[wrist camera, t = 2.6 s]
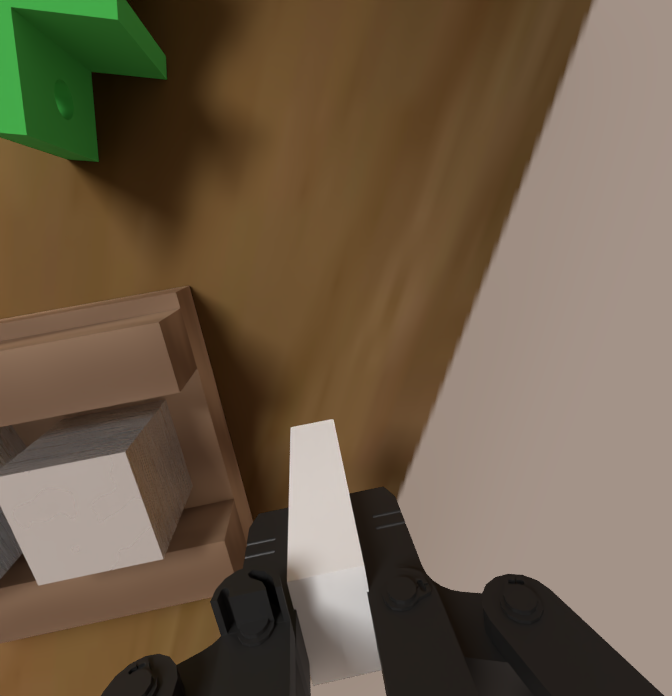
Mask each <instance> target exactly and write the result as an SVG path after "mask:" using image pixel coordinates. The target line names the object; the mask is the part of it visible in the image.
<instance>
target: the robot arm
mask: <svg viewBox="0 0 672 696" xmlns="http://www.w3.org/2000/svg"><path fill="white" fill-rule="evenodd" d="M210 602H211V606H212V609H213V612H214V615H215V618H216V621H217V624H218V627H219V630H220V634H221V637H220V638H219V639H218V640H217V641H216V642H215V643H213V644H212V645H211V646H209V647H208V648H206V649H205V650H203V651H202V652H200V653H198V654H196V655H194V656H193V657H191V658H189V659H187V660H185V661H183V662H181V663H180V664H178V665H176V664H175V663H174V662H173V660H172V659H171V658H170V657H168V656H165V655H161V654H155V655H150V656H145V657H143V658H141V659H139V660H137V661H135V662H133V663H131V664H130V665H128V666H127V667H126V668H125V669H124V670H123V671H121V672H120V673H119V674H118V675H117V676H115V678H114V679H113V680H112V682H111V683H110V684H109V685H108V687H107V688H106V689H105V690H104V692H103V693H102V695H101V696H311V693H310V676H311V680H312V684H313V686H315V685H319V684H323V683H328V682H332V681H336V680H341V679H345V678H350V677H354V676H358V675H363V674H367V673H371V672H376V671H380V670H382V674H383V679H384V684H385V690H386V695H387V696H664V695H663V694H662V693H661V692H660V691H658V690H657V689H656V688H655V687H654V686H653V685H652V684H651V683H650V682H649V681H648V680H647V679H646V678H644V677H643V676H642V675H641V674H640V673H639V672H638V671H637V670H636V669H635V668H634V667H633V666H631V664H629V663H628V662H627V661H626V660H625V659H624V658H623V657H622V656H621V655H620V654H619V653H618V652H617V651H615V650H614V649H613V648H612V647H611V646H610V645H609V644H608V643H607V642H606V641H605V640H604V639H602V637H600V636H599V635H598V634H597V633H596V632H595V631H594V630H593V629H592V628H591V627H590V626H589V625H588V624H587V623H585V622H584V621H583V620H582V619H581V618H580V617H579V616H578V615H577V614H576V613H575V612H574V611H572V609H571V608H569V607H568V606H567V605H566V604H565V603H564V602H563V601H562V600H561V599H560V598H559V597H557V595H555V594H554V593H553V592H552V591H551V590H550V589H549V588H547V587H546V586H544V585H543V584H542V583H540V582H539V581H537V580H535V579H532V578H529V577H526V576H524V575H515V574H506V575H503V576H499V577H495V578H494V579H493V580H491V581H490V582H489V583H488V584H486V586H485V588H484V591H483V593H482V594H481V593H469V592H459V591H454V590H450V589H448V588H445V587H442V586H440V585H439V584H437V583H436V582H434V581H433V580H432V579H431V578H430V577H429V576H428V575H427V574H426V572H425V571H424V569H423V567H422V565H421V562H420V560H419V557H418V554H417V552H416V549H415V546H414V544H413V541H412V539H411V537H410V534H409V531H408V528H407V526H406V524H405V521H404V518H403V516H402V513H401V511H400V508H399V505H398V503H397V500H396V497H395V496H394V495H393V494H392V493H390V492H389V491H388V490H387V489H386V488H384V487H379V488H374V489H370V490H365V491H360V492H355V493H350V494H349V491H348V486H347V482H346V477H345V472H344V467H343V463H342V458H341V453H340V448H339V444H338V439H337V434H336V429H335V425H334V420H333V419H331V420H326V421H321V422H315V423H310V424H305V425H300V426H295V427H291V436H290V477H289V508H285V509H280V510H275V511H270V512H265V513H261V514H258V516H257V517H256V519H255V520H254V522H253V523H252V525H251V526H250V528H249V532H248V538H247V547H246V551H245V560H244V563H243V569H240V570H237V571H236V572H234V573H233V574H231V575H230V576H228V577H227V578H225V579H224V580H223V582H222V583H221V584H220V585H219V586H218V587H217V589H216V590H215V592H214V594H213V597H212V599H211V601H210Z"/></svg>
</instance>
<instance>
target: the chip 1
mask: <svg viewBox="0 0 672 696" xmlns="http://www.w3.org/2000/svg"><path fill="white" fill-rule="evenodd" d="M26 448H27V447H26V446H25V444H24V443H23V441H22V440H21V438H20V437H19V435H18V434H17V432H16V431H15V429H14V428H13V426H12V425H9V426H4V427H0V469H1V468H2V467H3V466H5V465H6V464H7V463H8V462H10V461H11V460H12V459H13V458H15V457H16V456H17V455H18V454H20V453H21V452H22V451H23V450H25V449H26ZM22 553H23V552H22V550H21V548H20V546H19V544H18V542H17V540H16V538H15V536H14V533H13V531H12V529H11V527H10V525H9V523H8V521H7V519H6V517H5V515H4V513H3V510H2V508H1V506H0V579H1V578H2V577H3V575H4V574H5V573H6V572H7V571H8V570H9V568H10V567H11V566H12V565H13V564H14V563H15V561H16V560H17V559H18V558H19V557H20V555H21V554H22Z"/></svg>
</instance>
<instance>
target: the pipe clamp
mask: <svg viewBox="0 0 672 696" xmlns="http://www.w3.org/2000/svg"><path fill="white" fill-rule="evenodd" d="M91 72H98V73H107V74H117V75H126V76H136V77H146V78H155V79H165V80H167V70H166V56H165V54H164V53H163V51H162V50H161V49H160V47H159V46H158V44H157V43H156V42H155V40H154V39H153V37H152V36H151V35H150V33H149V32H148V30H147V29H146V28H145V26H144V25H143V23H142V22H141V21H140V19H139V18H138V16H137V15H136V14H135V12H134V11H133V9H132V8H131V7H130V5H129V4H128V2H127V1H126V0H0V137H1V138H4V139H7V140H10V141H13V142H16V143H19V144H22V145H25V146H28V147H31V148H34V149H38V150H41V151H44V152H47V153H50V154H53V155H56V156H59V157H62V158H65V159H69V160H81V161H94V162H99V157H98V145H97V133H96V122H95V110H94V98H93V86H92V75H91Z"/></svg>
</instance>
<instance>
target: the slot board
mask: <svg viewBox="0 0 672 696" xmlns="http://www.w3.org/2000/svg"><path fill="white" fill-rule="evenodd" d="M165 399H166V402H167V405H168V408H169V411H170V415H171V418H172V421H173V424H174V427H175V431H176V434H177V437H178V440H179V443H180V447H181V450H182V453H183V456H184V459H185V463H186V466H187V469H188V472H189V475H190V479H191V482H192V485H193V487H192V489H191V492H190V494H189V497H188V499H187V502H186V504H185V507H184V509H183V512H182V514H181V517H180V519H179V522H178V524H177V527H176V529H175V532H174V534H173V537H172V539H171V542H170V544H169V547H168V549H167V552H166V554H165V557H164V559H162V560H157V561H152V562H147V563H143V564H138V565H133V566H129V567H124V568H119V569H114V570H110V571H105V572H100V573H96V574H91V575H86V576H81V577H77V578H72V579H67V580H63V581H58V582H53V583H48V584H44V585H39V586H38V584H37V582H36V580H35V577H34V575H33V573H32V571H31V569H30V567H29V565H28V563H27V561H26V559H25V556H24V554H23V553H22V554H21V555H20V557H19V558H18V559H17V560H16V561H15V563H14V564H13V565H12V566H11V567H10V568H9V570H8V571H7V572H6V573H5V574H4V575H3V577H2V578H1V579H0V643H4V642H9V641H14V640H18V639H23V638H27V637H32V636H37V635H41V634H46V633H50V632H55V631H59V630H64V629H69V628H73V627H78V626H82V625H87V624H92V623H96V622H101V621H105V620H110V619H114V618H119V617H124V616H128V615H133V614H137V613H142V612H147V611H151V610H156V609H160V608H165V607H169V606H174V605H179V604H183V603H188V602H192V601H197V600H202V599H206V598H211V597H213V594H214V592H215V590H216V589H217V587H218V586H219V585H220V584H221V583H222V582H223V580H224V579H225V578H227V577H228V576H230V575H231V574H233V573H234V572H236V571H237V570H240V569H243V563H244V558H245V551H246V547H247V538H248V532H249V528H250V526H251V525H252V523H253V519H252V516H251V512H250V508H249V505H248V501H247V497H246V493H245V490H244V486H243V482H242V479H241V475H240V471H239V468H238V464H237V460H236V456H235V453H234V449H233V445H232V442H231V438H230V434H229V431H228V427H227V423H226V420H225V416H224V412H223V408H222V405H221V401H220V397H219V394H218V390H217V386H216V383H215V379H214V375H213V371H212V368H211V364H210V360H209V357H208V353H207V349H206V346H205V342H204V338H203V334H202V331H201V327H200V323H199V320H198V316H197V312H196V309H195V305H194V301H193V297H192V294H191V290H190V286H184V287H179V288H173V289H168V290H162V291H156V292H151V293H145V294H140V295H134V296H129V297H123V298H117V299H112V300H106V301H101V302H95V303H89V304H84V305H78V306H73V307H67V308H61V309H56V310H50V311H45V312H39V313H34V314H28V315H22V316H17V317H11V318H6V319H0V427H4V426H9V425H12V426H13V428H14V429H15V431H16V432H17V434H18V435H19V437H20V438H21V440H22V441H23V443H24V444H25V446H26V447H28V446H30V445H31V444H32V443H33V442H35V441H36V440H37V439H38V438H40V437H41V436H42V435H43V434H45V433H46V432H47V431H48V430H50V429H51V428H52V427H53V426H55V425H56V424H57V423H58V422H60V421H61V420H62V419H67V418H72V417H77V416H82V415H88V414H93V413H98V412H103V411H108V410H114V409H119V408H124V407H129V406H134V405H139V404H145V403H150V402H155V401H160V400H165Z"/></svg>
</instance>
